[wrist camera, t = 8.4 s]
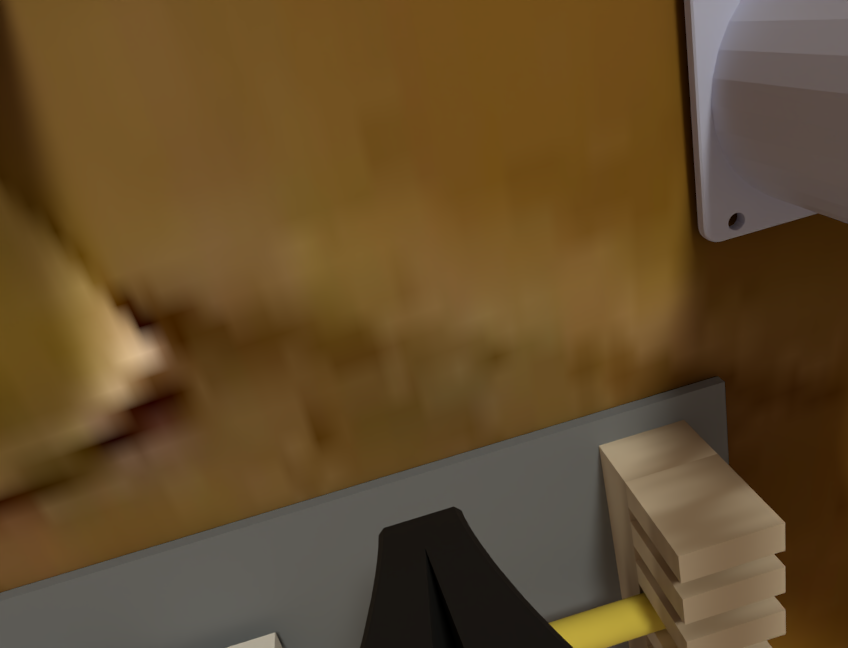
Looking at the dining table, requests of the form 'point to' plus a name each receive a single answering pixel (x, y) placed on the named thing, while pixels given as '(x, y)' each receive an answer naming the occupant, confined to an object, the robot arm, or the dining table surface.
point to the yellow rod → (610, 623)
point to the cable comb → (693, 541)
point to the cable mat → (366, 546)
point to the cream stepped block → (261, 642)
